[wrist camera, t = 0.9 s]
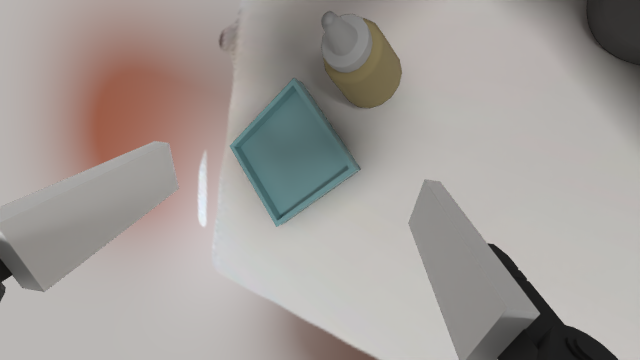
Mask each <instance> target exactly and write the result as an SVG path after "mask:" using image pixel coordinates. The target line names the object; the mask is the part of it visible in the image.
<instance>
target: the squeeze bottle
mask: <svg viewBox="0 0 640 360" xmlns="http://www.w3.org/2000/svg"><path fill="white" fill-rule="evenodd" d="M322 26H323V29H324V31H325V33H324V35H323V39H322V45H321V48H322V53H323V57H324V58H323V59H324V65H325V70H326V72H327V73H328V75H329V76H330V78H331V79H332V80H333V82H334V83H335V84H336V85H337V87H338V88H339V89H340V90H341V92H342V93H343V94H344V95H345V97H346V98H347V99H348V100H349V102H351V103H353V104H354V105H356V106H358V107H364V108H372V107H375V106H378V105H381V104H383V103H384V102H385V101H387V100H388V99H389V98H391V97H392V95H393V94H394V92H395V91H396V89H397V88H398V86H399V83H400V79H401V74H402V70H401V65H400V60H399V58H398V57H397V55H396V53H395V52H394V50H393V49H392V47H391V46H390V44H389V43H388V41H387V39H386V38H385V36H384V35H383V33H382V32H381V30H380V29H379V28H378V26H377V25H376V24H375V23H374V22H371V21H369V20H367V19H365V18H363V19H362V18H361V17H359V16H357V15H355V14H347V15H342V16H341V17H339V16H337V15H336V14H335V13H333V12H327V13H325V14H324V15H323V17H322Z"/></svg>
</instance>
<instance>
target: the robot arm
mask: <svg viewBox="0 0 640 360" xmlns="http://www.w3.org/2000/svg"><path fill="white" fill-rule="evenodd" d="M587 18H588V23H589V26H590V29H591V31H592V33H593V35H594V37H595V38H596V40H597V41H598V42H599V43H600V44H601V46H603V47H604V48H605V49H606V50H607V51H609V52H610V53H611V54H613V55H615V56H616V57H618V58H620V59H623V60H625V61H628V62H631V63H634V64H638V65H640V0H588V3H587ZM178 189H179V186H178V182H177V177H176V172H175V168H174V163H173V159H172V154H171V149H170V145H169V143H165V142H158V141H154V142H152V143H150V144H147V145H145V146H142V147H140V148H138V149H135V150H133V151H130V152H128V153H126V154H123V155H121V156H119V157H116V158H114V159H112V160H110V161H107V162H105V163H102V164H100V165H98V166H95V167H93V168H91V169H88V170H86V171H83V172H81V173H79V174H76V175H74V176H72V177H70V178H67V179H65V180H62V181H60V182H57V183H55V184H53V185H51V186H48V187H46V188H44V189H41V190H39V191H36V192H34V193H32V194H29V195H27V196H25V197H22V198H20V199H18V200H15V201H13V202H11V203H8V204H6V205H3V206H1V207H0V301H1V299H2V297H3V295H4V293H5V286H4V285H3V284H2V283H1V282H2V281H4V280H5V279H7V278H8V277H10V276H12V275H13V277H14V278H15V279H16V281H17V282H18V283H19V284H20V286H21V287H22V288H25V289H31V290H37V291H43V292H45V291H46V290H48V289H49V288H50V287H52V286H53V285H54V284H55V283H57V282H58V281H59V280H61V279H62V278H63V277H65V276H66V275H67V274H69V273H70V272H71V271H72V270H74V269H75V268H76V267H78V266H79V265H80V264H81V263H83V262H84V261H85V260H87V259H88V258H89V257H91V256H92V255H93V254H95V253H96V252H97V251H99V250H100V249H101V248H102V247H104V246H105V245H106V244H107V243H109V242H110V241H112V240H113V239H114V238H115V237H117V236H118V235H119V234H120V233H122V232H123V231H125V230H126V229H127V228H128V227H130V226H131V225H132V224H134V223H135V222H136V221H138V220H139V219H140V218H141V217H143V216H144V215H145V214H147V213H148V212H149V211H150V210H152V209H153V208H154V207H156V206H157V205H158V204H160V203H161V202H162V201H164V200H165V199H166V198H168V197H169V196H170V195H171V194H173V193H174V192H175V191H176V190H178ZM408 224H409V226H410V229H411V232H412V234H413V237H414V240H415V242H416V245H417V248H418V250H419V253H420V256H421V259H422V261H423V264H424V267H425V269H426V272H427V275H428V277H429V280H430V283H431V285H432V288H433V291H434V293H435V296H436V299H437V302H438V304H439V307H440V310H441V312H442V315H443V318H444V320H445V323H446V326H447V328H448V331H449V334H450V336H451V339H452V342H453V345H454V347H455V350H456V353H457V355H458V358H459V360H497V359H498V360H618V359H617V358H616V356H615V355H613V354H612V353H611V352H610V351H609V350H608V349H607V348H606V347H605V346H603V345H602V344H601V343H600V342H598V341H597V340H595V339H594V338H592V337H591V336H589V335H588V334H586V333H584V332H582V331H580V330H578V329H576V328H574V327H570V326H566V325H564V323H563V322H562V321H561V320H560V319H559V317H558V316H557V315H556V314H555V312H554V311H553V310H552V309H551V308H550V306H549V305H548V304H547V303H546V301H545V300H544V299H543V298H542V297H541V295H540V294H539V293H538V292H537V290H536V289H535V288H534V287H533V286H532V284H531V283H530V282H529V281H527V278H526V277H525V276H524V275H523V273H522V272H521V271H520V270H518V267H517V266H516V265H515V264H514V262H513V261H512V260H511V259H510V257H509V256H508V255H507V254H505V253H504V252H503V251H502V250H500V249H499V248H498V247H497V246H495V245H494V244H488V243H486V241H485V240H484V239H483V237H482V236H481V235H480V233H479V232H478V231H477V229H476V228H475V227H474V226H473V224H472V223H471V222H470V220H469V219H468V218H467V216H466V215H465V214H464V212H463V211H462V210H461V208H460V207H459V206H458V204H457V203H456V202H455V200H454V199H453V198H452V197H451V195H450V194H449V193H448V191H447V190H446V189H445V187H444V186H443V185H442V183H441V182H438V181H431V180H424V183H423V185H422V188H421V191H420V193H419V196H418V199H417V201H416V204H415V207H414V210H413V212H412V215H411V218H410V220H409V223H408Z"/></svg>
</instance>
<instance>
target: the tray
mask: <svg viewBox="0 0 640 360" xmlns="http://www.w3.org/2000/svg"><path fill="white" fill-rule="evenodd" d="M230 148H231V149H232V151H233V153H234V155H235V156H236V158H237V160H238V161H239V163H240V165H241V167H242V168H243V170H244V172H245V173H246V175H247V177H248V179H249V180H250V182H251V184H252V185H253V187H254V189H255V191H256V192H257V194H258V196H259V198H260V199H261V201H262V203H263V204H264V206H265V208H266V210H267V211H268V213H269V215H270V216H271V218H272V220H273V222H274V223H275V225H276V227H277V226H280V225H282V224H284V223H285V222H287V221H288V220H290V219H291V218H292V217H294V216H295V215H297V214H298V213H300V212H301V211H302V210H304V209H305V208H307V207H308V206H309V205H311V204H312V203H314V202H315V201H317V200H318V199H319V198H321V197H322V196H324V195H325V194H326V193H328V192H329V191H331V190H332V189H334V188H335V187H336V186H338V185H339V184H341V183H342V182H343V181H345V180H346V179H348V178H349V177H350V176H352V175H353V174H355V173H356V172H358V171H359V170H360V167H359V166H358V164H357V163H356V161H355V160H354V158H353V157H352V155H351V154H350V153H349V151H348V150H347V148H346V147H345V145H344V144H343V142H342V141H341V139H340V138H339V136H338V135H337V134H336V132H335V131H334V129H333V128H332V126H331V125H330V123H329V122H328V120H327V119H326V117H325V116H324V114H323V113H322V112H321V110H320V109H319V107H318V106H317V104H316V103H315V101H314V100H313V98H312V97H311V95H310V94H309V93H308V91H307V90H306V88H305V87H304V85H303V84H302V82H300V81H298V80H297V79H295V78H293V79H292V80H291V81H290V83H289V84H288V85H287V86H286V87H285V88H284V89H283V90H282V91H281V92H280V93H279V94H278V95H277V96H276V97H275V98H274V100H273V101H272V102H271V103H270V104H269V105H268V106H267V107H266V108H265V109H264V110H263V111H262V112H261V113H260V114H259V115H258V116H257V118H256V119H255V120H254V121H253V122H252V123H251V124H250V125H249V126H248V127H247V128H246V129H245V130H244V131H243V132H242V133H241V135H240V136H239V137H238V138H237V139H236V140H235V141H234V142H233V143H232V144H231V145H230Z"/></svg>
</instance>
